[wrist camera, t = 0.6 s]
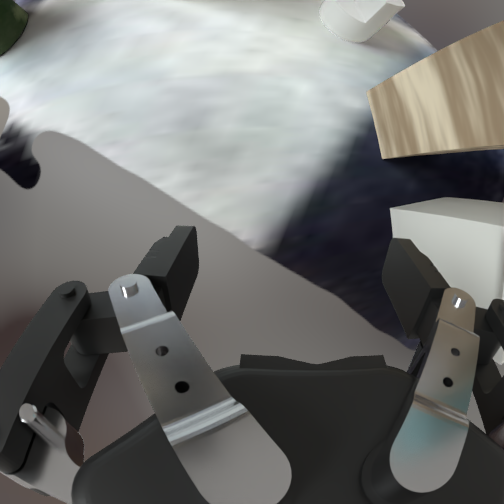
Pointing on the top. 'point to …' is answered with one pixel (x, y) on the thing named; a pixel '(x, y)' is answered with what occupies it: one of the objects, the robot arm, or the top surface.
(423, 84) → the birch stand
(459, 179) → the top surface
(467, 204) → the white pedestal
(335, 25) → the cylinder with rectangular tab
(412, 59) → the top surface
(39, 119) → the top surface
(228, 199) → the top surface
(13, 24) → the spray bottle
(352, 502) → the robot arm
